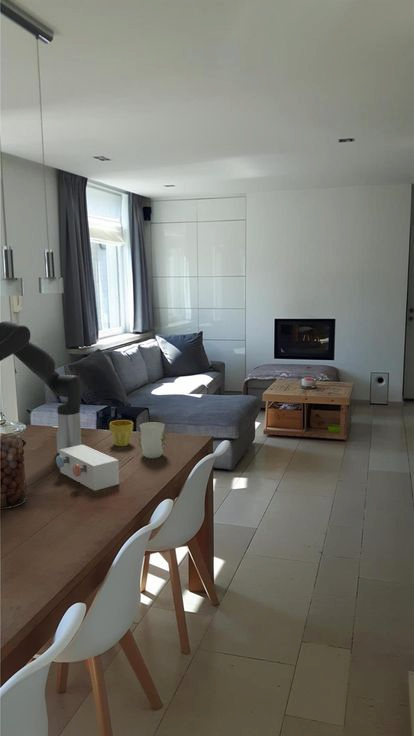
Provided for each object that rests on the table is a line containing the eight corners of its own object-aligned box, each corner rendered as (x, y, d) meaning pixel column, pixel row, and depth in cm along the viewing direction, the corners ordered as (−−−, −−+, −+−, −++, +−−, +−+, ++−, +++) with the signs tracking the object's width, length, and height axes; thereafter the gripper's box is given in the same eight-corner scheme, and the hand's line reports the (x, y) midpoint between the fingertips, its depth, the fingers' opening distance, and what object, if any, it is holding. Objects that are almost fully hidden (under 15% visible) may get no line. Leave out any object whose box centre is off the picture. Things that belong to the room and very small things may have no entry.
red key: (78, 478, 202) (78, 466, 201) (72, 474, 205) (72, 463, 204) (100, 472, 207) (99, 461, 207) (94, 469, 211) (93, 458, 210)
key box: (94, 490, 202) (93, 466, 200) (60, 472, 221) (59, 449, 220) (119, 484, 208) (118, 460, 207) (83, 466, 227) (82, 444, 226)
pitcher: (168, 448, 250) (167, 417, 248) (164, 461, 233) (163, 428, 231) (143, 448, 251) (142, 417, 249) (136, 461, 233) (136, 428, 231)
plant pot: (131, 447, 253) (131, 425, 251) (108, 447, 253) (107, 425, 251) (135, 440, 263) (134, 419, 261) (112, 440, 263) (111, 419, 262)
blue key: (61, 469, 212) (61, 457, 211) (56, 466, 215) (55, 454, 214) (82, 464, 217) (82, 452, 216) (76, 461, 220) (76, 450, 220)
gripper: (1, 411, 190) (38, 440, 199) (-13, 404, 200) (23, 432, 209) (-14, 429, 187) (25, 458, 197) (-28, 421, 197) (9, 449, 207)
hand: (23, 444), depth 203 cm, fingers closed
